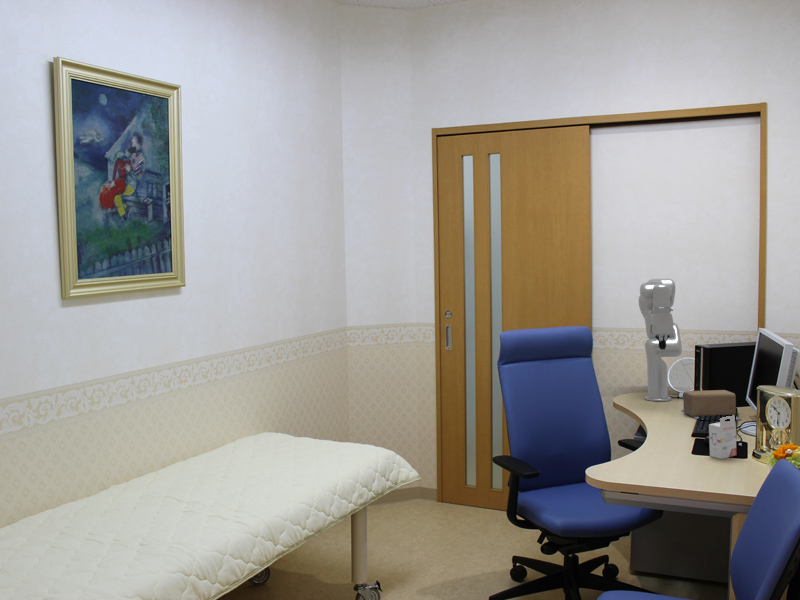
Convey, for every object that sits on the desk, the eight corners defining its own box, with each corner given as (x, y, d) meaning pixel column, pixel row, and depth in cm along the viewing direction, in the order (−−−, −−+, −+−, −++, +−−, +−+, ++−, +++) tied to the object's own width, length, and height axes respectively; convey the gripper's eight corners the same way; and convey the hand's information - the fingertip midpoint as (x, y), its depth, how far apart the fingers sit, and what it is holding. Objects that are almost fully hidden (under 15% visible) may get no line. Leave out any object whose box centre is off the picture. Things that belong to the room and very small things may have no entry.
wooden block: (691, 416, 300) (736, 415, 299) (691, 394, 299) (736, 393, 299) (682, 412, 310) (726, 411, 309) (682, 390, 309) (726, 389, 309)
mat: (681, 410, 315) (681, 409, 315) (720, 410, 314) (720, 408, 314) (699, 421, 293) (699, 419, 293) (741, 420, 292) (741, 419, 292)
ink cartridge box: (724, 452, 244) (723, 412, 243) (737, 455, 239) (736, 414, 239) (708, 456, 240) (708, 415, 239) (721, 459, 235) (720, 418, 235)
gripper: (675, 309, 321) (675, 347, 322) (643, 310, 322) (644, 348, 323) (680, 310, 314) (681, 349, 314) (647, 311, 315) (648, 350, 316)
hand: (662, 349), depth 319 cm, fingers closed
